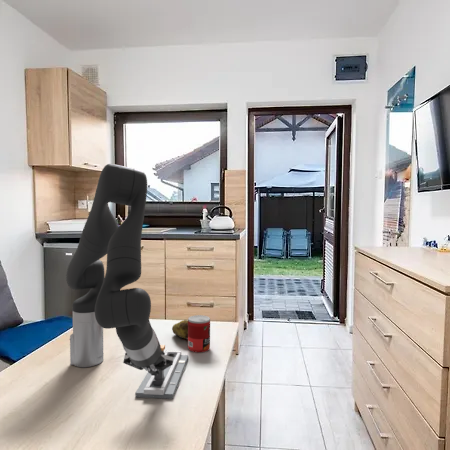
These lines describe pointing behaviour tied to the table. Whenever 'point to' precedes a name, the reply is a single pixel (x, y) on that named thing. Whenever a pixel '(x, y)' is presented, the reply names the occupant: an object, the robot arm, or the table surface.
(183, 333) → the potato
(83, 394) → the table surface
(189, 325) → the canned food
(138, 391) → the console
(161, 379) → the fader tab
